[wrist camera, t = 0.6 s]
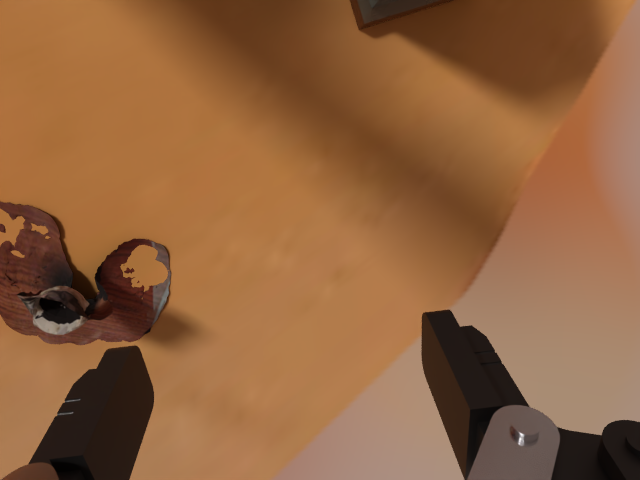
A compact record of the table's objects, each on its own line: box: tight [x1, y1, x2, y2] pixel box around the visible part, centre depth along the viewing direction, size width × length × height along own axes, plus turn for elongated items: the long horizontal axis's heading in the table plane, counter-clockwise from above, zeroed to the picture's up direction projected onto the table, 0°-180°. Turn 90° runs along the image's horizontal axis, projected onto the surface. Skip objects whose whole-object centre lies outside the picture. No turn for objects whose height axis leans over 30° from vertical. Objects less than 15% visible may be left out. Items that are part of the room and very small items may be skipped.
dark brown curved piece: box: [0, 202, 171, 345], centre depth 35 cm, size 11×12×15 cm
